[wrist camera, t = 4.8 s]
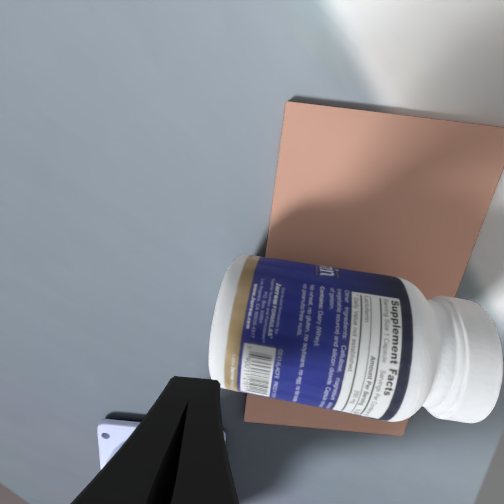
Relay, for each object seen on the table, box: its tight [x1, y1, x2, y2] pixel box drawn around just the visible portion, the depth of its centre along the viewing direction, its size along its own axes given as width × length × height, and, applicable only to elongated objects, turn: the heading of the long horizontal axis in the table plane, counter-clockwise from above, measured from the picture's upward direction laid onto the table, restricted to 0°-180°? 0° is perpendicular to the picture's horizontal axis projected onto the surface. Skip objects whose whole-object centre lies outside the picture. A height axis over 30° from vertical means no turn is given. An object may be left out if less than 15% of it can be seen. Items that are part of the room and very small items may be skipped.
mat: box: [244, 101, 504, 436], centre depth 16 cm, size 18×10×1 cm, turn 174°
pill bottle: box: [209, 254, 503, 423], centre depth 13 cm, size 6×6×10 cm
